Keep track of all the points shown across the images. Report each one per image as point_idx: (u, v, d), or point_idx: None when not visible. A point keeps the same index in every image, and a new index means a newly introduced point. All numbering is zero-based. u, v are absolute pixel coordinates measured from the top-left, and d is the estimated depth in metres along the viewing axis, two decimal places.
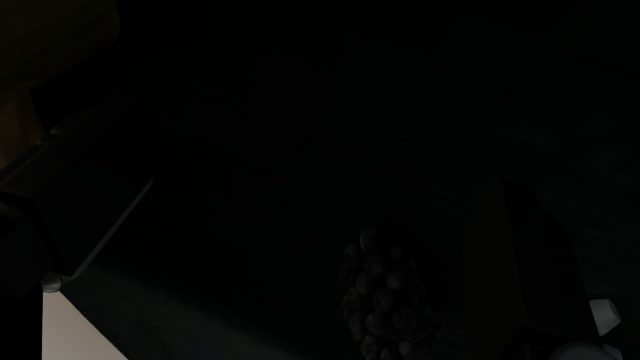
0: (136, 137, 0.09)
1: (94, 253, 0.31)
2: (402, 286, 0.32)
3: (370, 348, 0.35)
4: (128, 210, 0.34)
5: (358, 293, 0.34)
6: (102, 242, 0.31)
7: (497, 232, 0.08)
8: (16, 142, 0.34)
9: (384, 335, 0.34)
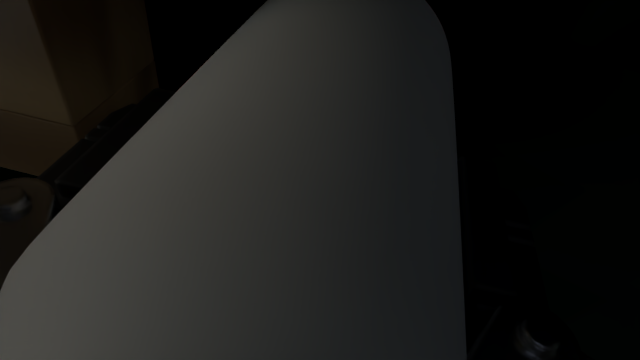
0: None
1: None
2: None
3: None
4: None
5: None
6: None
7: None
8: None
9: None
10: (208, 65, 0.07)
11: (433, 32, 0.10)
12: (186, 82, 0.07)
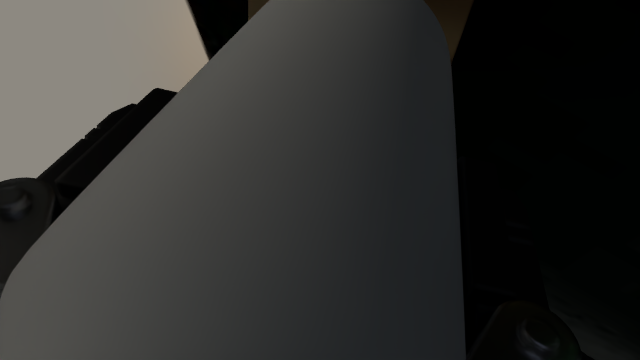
0: None
1: None
2: None
3: None
4: None
5: None
6: None
7: None
8: None
9: None
10: (208, 67, 0.07)
11: (433, 34, 0.10)
12: (186, 84, 0.07)
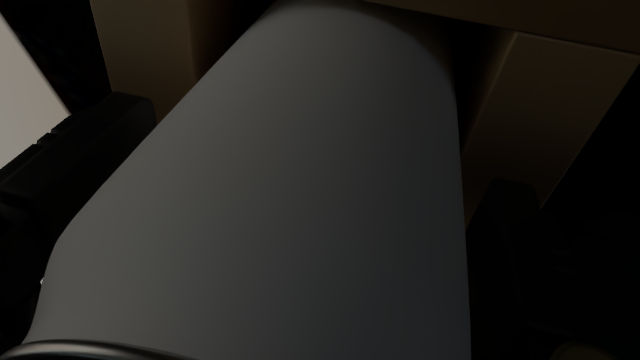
0: (136, 137, 0.09)
1: None
2: None
3: None
4: None
5: None
6: None
7: (497, 233, 0.08)
8: None
9: None
10: (228, 57, 0.08)
11: (436, 28, 0.11)
12: (207, 73, 0.08)
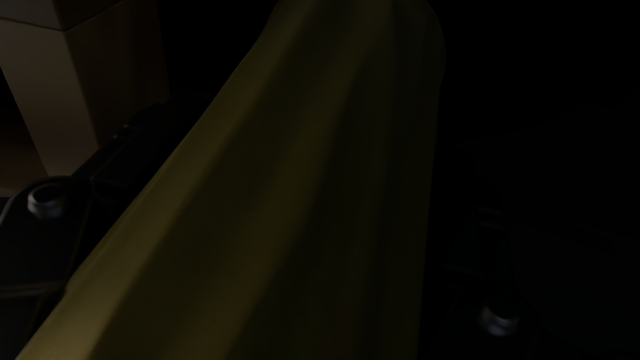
0: None
1: None
2: None
3: None
4: None
5: None
6: None
7: (434, 194, 0.09)
8: None
9: None
10: None
11: None
12: None
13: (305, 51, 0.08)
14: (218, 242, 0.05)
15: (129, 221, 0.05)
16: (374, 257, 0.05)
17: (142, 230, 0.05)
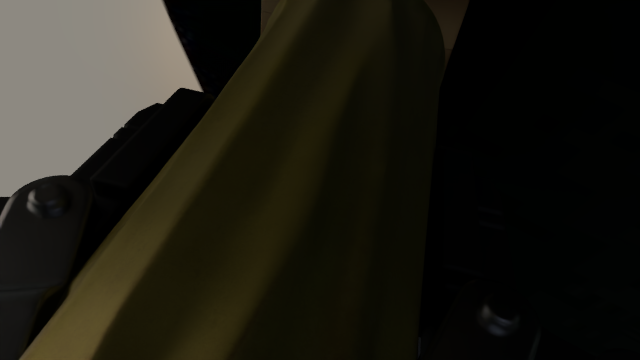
0: None
1: None
2: None
3: None
4: None
5: None
6: None
7: (434, 194, 0.08)
8: None
9: None
10: None
11: None
12: None
13: (305, 54, 0.08)
14: (218, 245, 0.05)
15: (130, 224, 0.05)
16: (373, 260, 0.05)
17: (143, 233, 0.05)
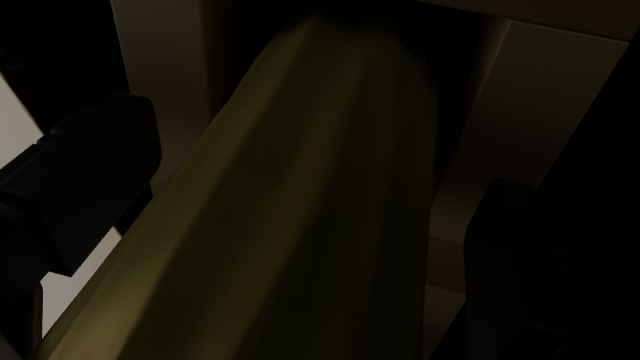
0: (136, 137, 0.09)
1: None
2: None
3: None
4: None
5: None
6: None
7: (497, 232, 0.08)
8: None
9: None
10: None
11: None
12: None
13: (317, 49, 0.09)
14: (249, 213, 0.05)
15: (167, 197, 0.06)
16: (384, 228, 0.06)
17: (181, 204, 0.06)
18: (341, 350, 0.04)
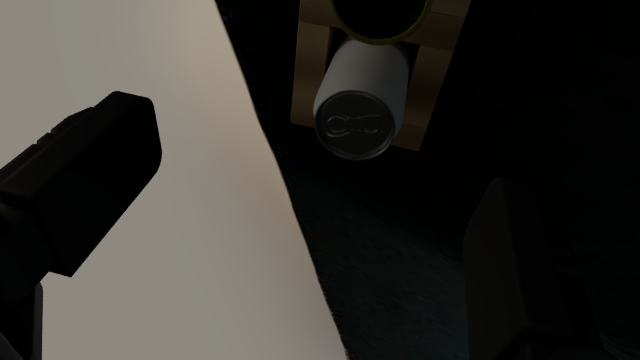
0: (136, 137, 0.09)
1: None
2: None
3: None
4: None
5: None
6: None
7: (497, 232, 0.08)
8: None
9: None
10: (345, 51, 0.31)
11: (402, 42, 0.34)
12: (340, 55, 0.31)
13: None
14: None
15: None
16: None
17: None
18: None
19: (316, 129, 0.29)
